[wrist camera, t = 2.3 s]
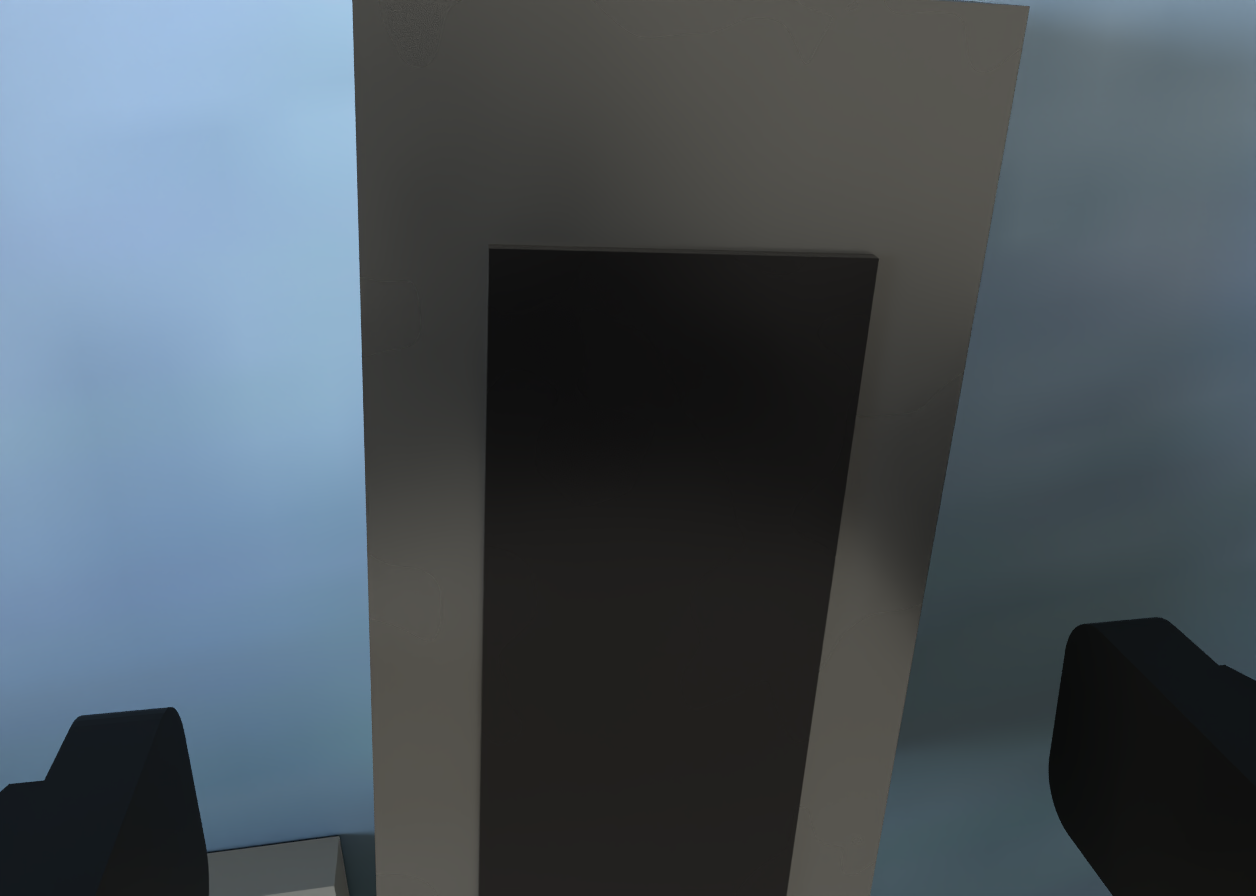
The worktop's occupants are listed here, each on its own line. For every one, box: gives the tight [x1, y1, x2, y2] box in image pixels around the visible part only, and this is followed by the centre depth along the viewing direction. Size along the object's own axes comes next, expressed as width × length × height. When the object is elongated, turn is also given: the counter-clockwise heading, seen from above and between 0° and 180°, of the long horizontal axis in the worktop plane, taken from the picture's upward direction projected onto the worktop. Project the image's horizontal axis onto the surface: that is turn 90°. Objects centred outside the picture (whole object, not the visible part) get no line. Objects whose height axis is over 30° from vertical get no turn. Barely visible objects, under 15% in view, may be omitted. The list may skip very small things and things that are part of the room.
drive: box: [352, 0, 1030, 896], centre depth 13 cm, size 11×5×5 cm, turn 176°
